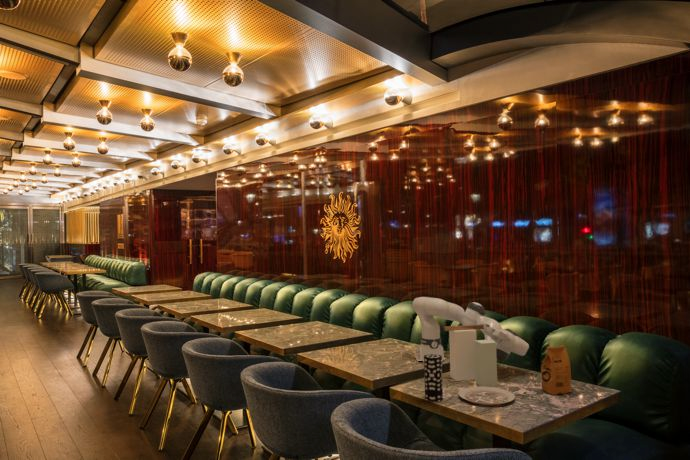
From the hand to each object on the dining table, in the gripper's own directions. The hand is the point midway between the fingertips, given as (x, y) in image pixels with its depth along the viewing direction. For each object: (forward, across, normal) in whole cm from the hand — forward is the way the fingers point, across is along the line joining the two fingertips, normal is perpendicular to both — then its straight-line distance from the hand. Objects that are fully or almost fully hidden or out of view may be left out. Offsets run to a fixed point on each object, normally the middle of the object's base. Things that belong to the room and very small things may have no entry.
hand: (481, 325), depth 269 cm
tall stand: (-4, 0, -29) cm, 30 cm away
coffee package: (-33, -33, -13) cm, 48 cm away
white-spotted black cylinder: (+20, -29, -44) cm, 56 cm away
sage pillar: (-9, -14, -26) cm, 31 cm away
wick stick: (+7, 0, -6) cm, 9 cm away
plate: (-1, -34, -32) cm, 47 cm away
